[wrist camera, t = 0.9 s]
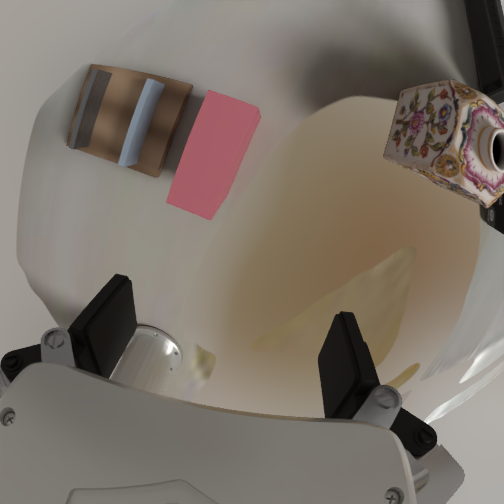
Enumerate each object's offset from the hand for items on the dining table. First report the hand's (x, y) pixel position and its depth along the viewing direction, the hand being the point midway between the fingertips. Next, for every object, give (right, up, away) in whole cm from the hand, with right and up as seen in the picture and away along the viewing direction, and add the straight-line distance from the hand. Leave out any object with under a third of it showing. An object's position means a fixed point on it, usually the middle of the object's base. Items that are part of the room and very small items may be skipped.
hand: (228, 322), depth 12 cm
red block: (-2, +17, +24) cm, 29 cm away
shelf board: (-18, +23, +22) cm, 37 cm away
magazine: (+41, +43, +10) cm, 60 cm away
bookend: (-22, +24, +20) cm, 39 cm away
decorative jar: (+26, +20, +21) cm, 39 cm away
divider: (-14, +21, +21) cm, 32 cm away
